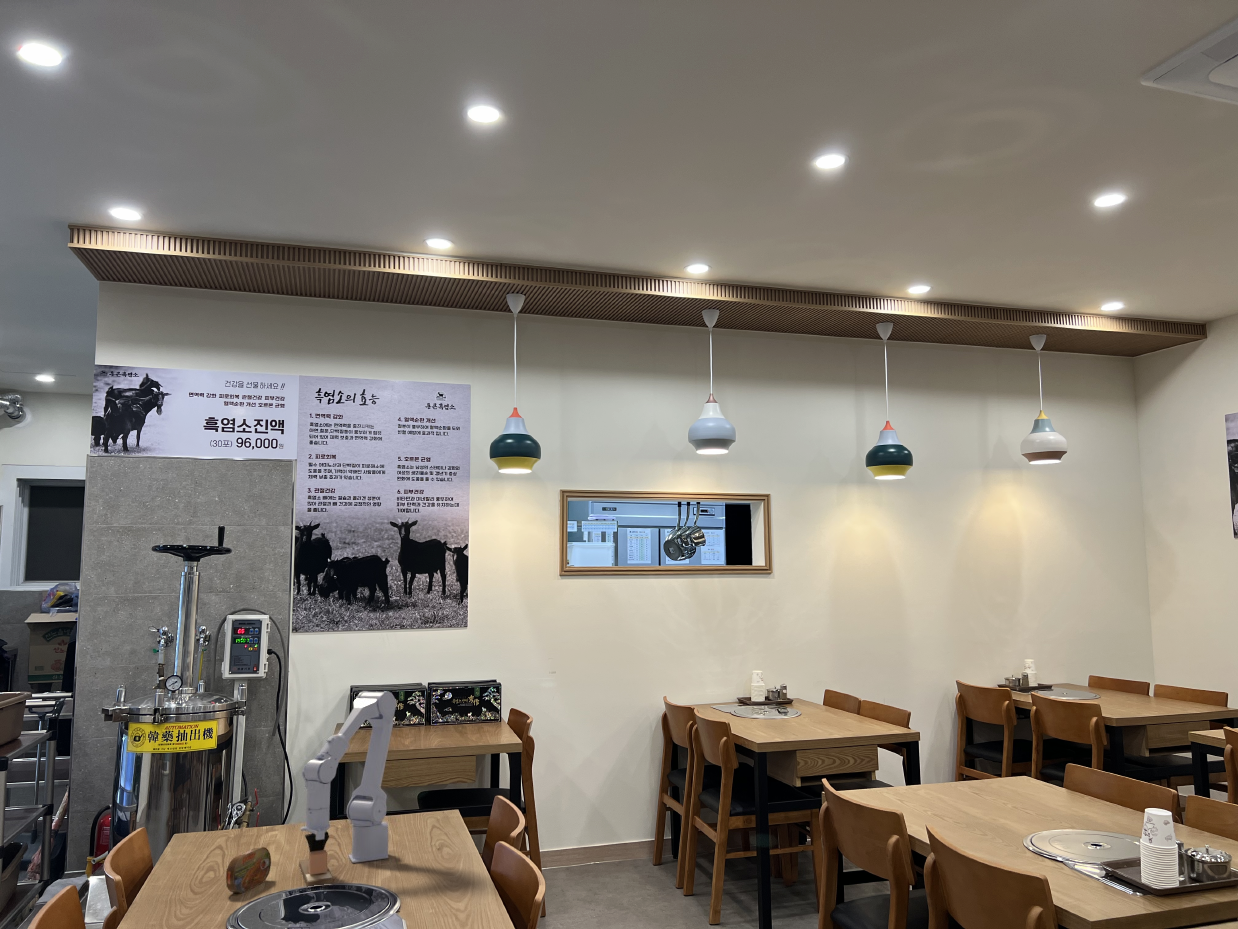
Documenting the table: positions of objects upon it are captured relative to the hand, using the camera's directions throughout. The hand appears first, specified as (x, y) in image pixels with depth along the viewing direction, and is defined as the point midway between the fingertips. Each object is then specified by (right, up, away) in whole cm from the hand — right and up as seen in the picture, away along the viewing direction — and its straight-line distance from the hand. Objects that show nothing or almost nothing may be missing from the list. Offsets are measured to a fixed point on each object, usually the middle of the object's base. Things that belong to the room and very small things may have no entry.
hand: (316, 863), depth 219 cm
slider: (+2, 0, -3) cm, 4 cm away
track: (0, -3, 0) cm, 3 cm away
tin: (-14, -2, -9) cm, 16 cm away
